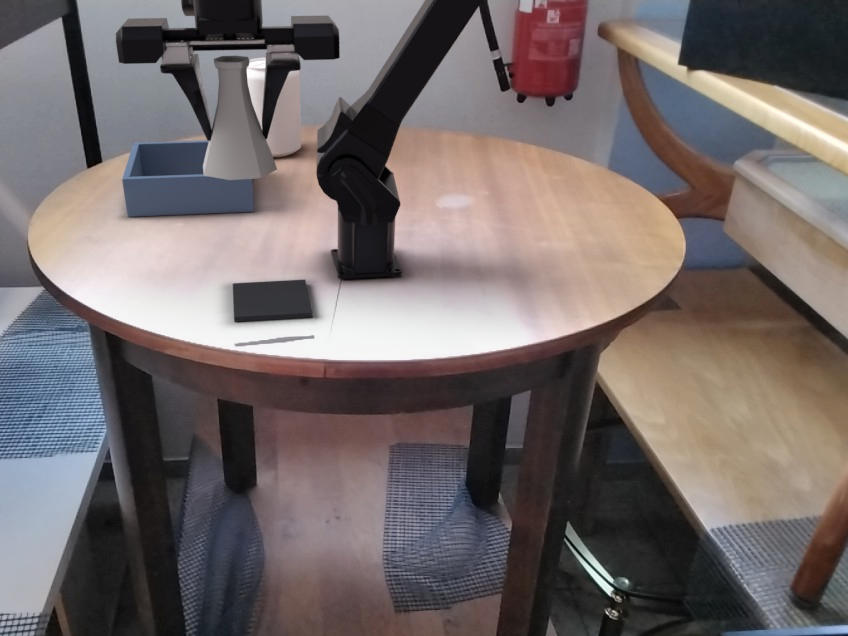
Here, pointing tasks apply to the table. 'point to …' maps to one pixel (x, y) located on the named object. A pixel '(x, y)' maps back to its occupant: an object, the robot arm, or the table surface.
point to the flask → (236, 128)
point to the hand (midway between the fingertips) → (237, 138)
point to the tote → (179, 182)
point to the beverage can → (278, 109)
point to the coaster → (271, 300)
